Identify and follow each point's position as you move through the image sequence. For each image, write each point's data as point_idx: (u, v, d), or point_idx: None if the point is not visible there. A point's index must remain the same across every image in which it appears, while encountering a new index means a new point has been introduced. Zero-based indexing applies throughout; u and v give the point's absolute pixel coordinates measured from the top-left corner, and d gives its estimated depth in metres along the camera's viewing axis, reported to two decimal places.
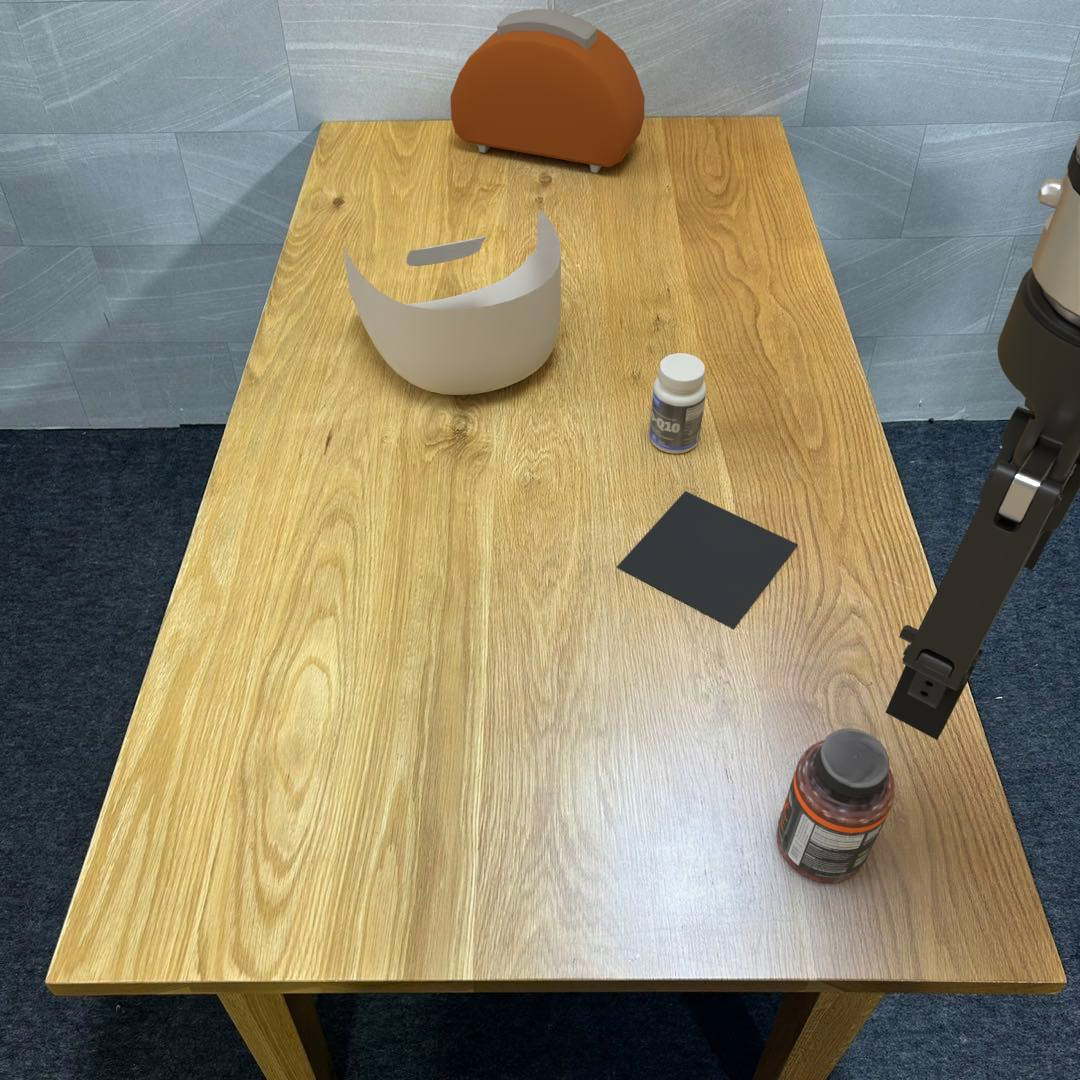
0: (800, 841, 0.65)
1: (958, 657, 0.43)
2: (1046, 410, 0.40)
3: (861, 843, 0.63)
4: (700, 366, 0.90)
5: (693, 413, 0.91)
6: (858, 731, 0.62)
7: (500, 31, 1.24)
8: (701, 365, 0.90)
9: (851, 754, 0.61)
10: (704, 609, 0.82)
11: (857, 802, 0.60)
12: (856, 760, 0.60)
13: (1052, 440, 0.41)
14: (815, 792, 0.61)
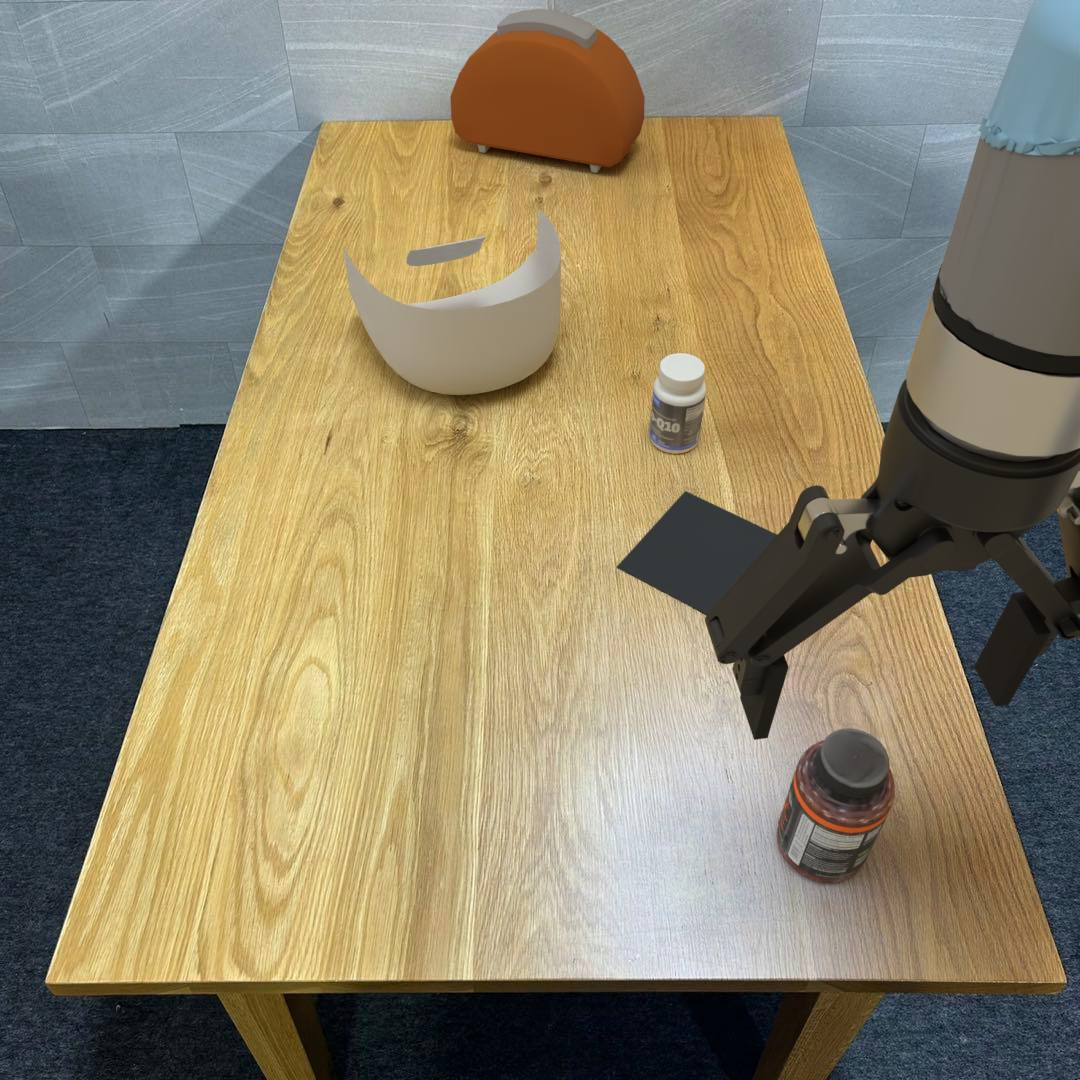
0: (800, 841, 0.65)
1: (728, 633, 0.49)
2: (881, 468, 0.44)
3: (861, 843, 0.63)
4: (700, 366, 0.90)
5: (693, 413, 0.91)
6: (858, 731, 0.62)
7: (500, 31, 1.24)
8: (701, 365, 0.90)
9: (851, 753, 0.61)
10: (704, 609, 0.82)
11: (857, 801, 0.60)
12: (856, 760, 0.60)
13: (880, 498, 0.44)
14: (815, 792, 0.61)
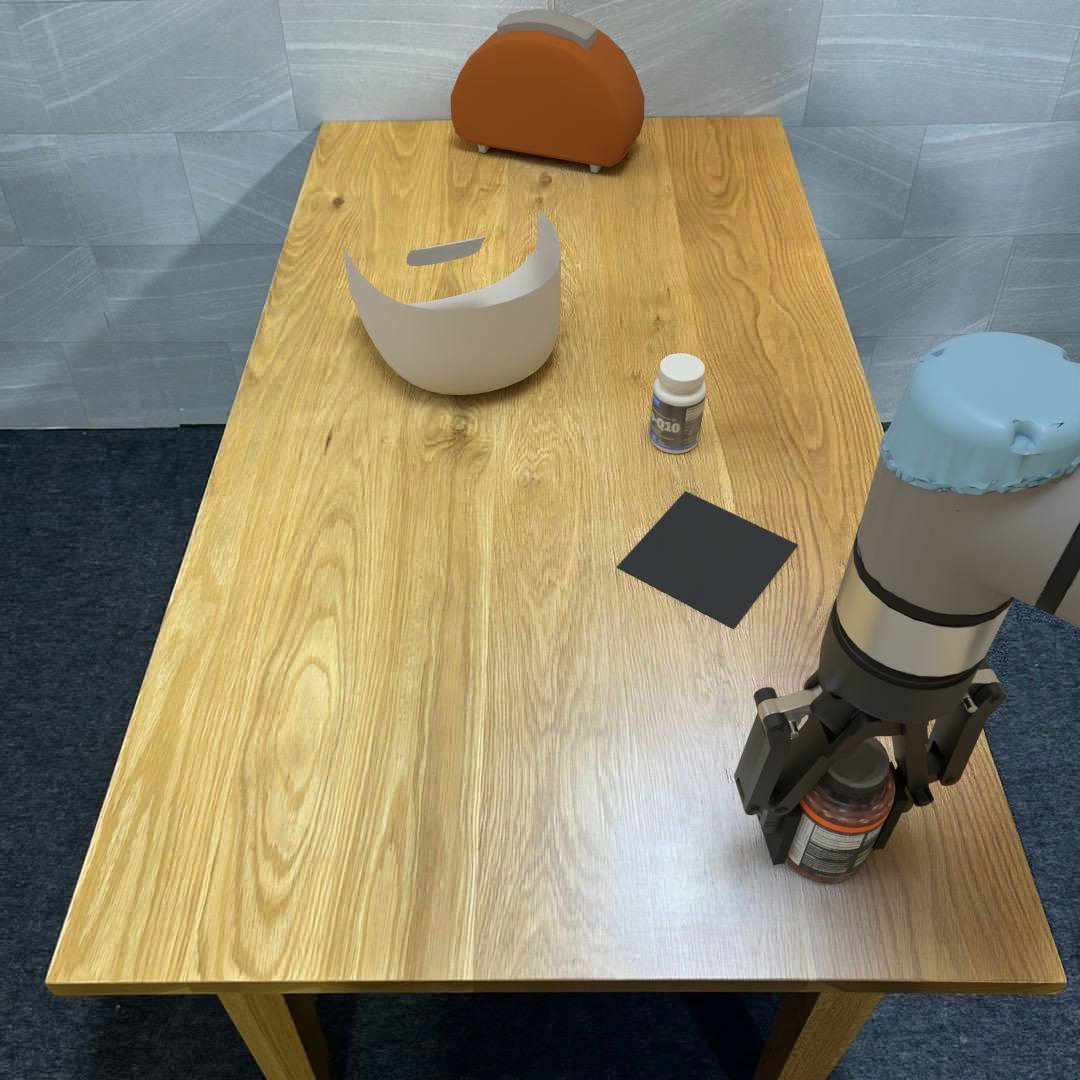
0: (800, 841, 0.65)
1: (746, 794, 0.61)
2: (820, 663, 0.54)
3: (861, 843, 0.63)
4: (700, 366, 0.90)
5: (693, 413, 0.91)
6: None
7: (500, 31, 1.24)
8: (701, 365, 0.90)
9: None
10: (704, 609, 0.82)
11: (858, 801, 0.60)
12: (856, 760, 0.60)
13: (820, 686, 0.54)
14: (815, 792, 0.61)
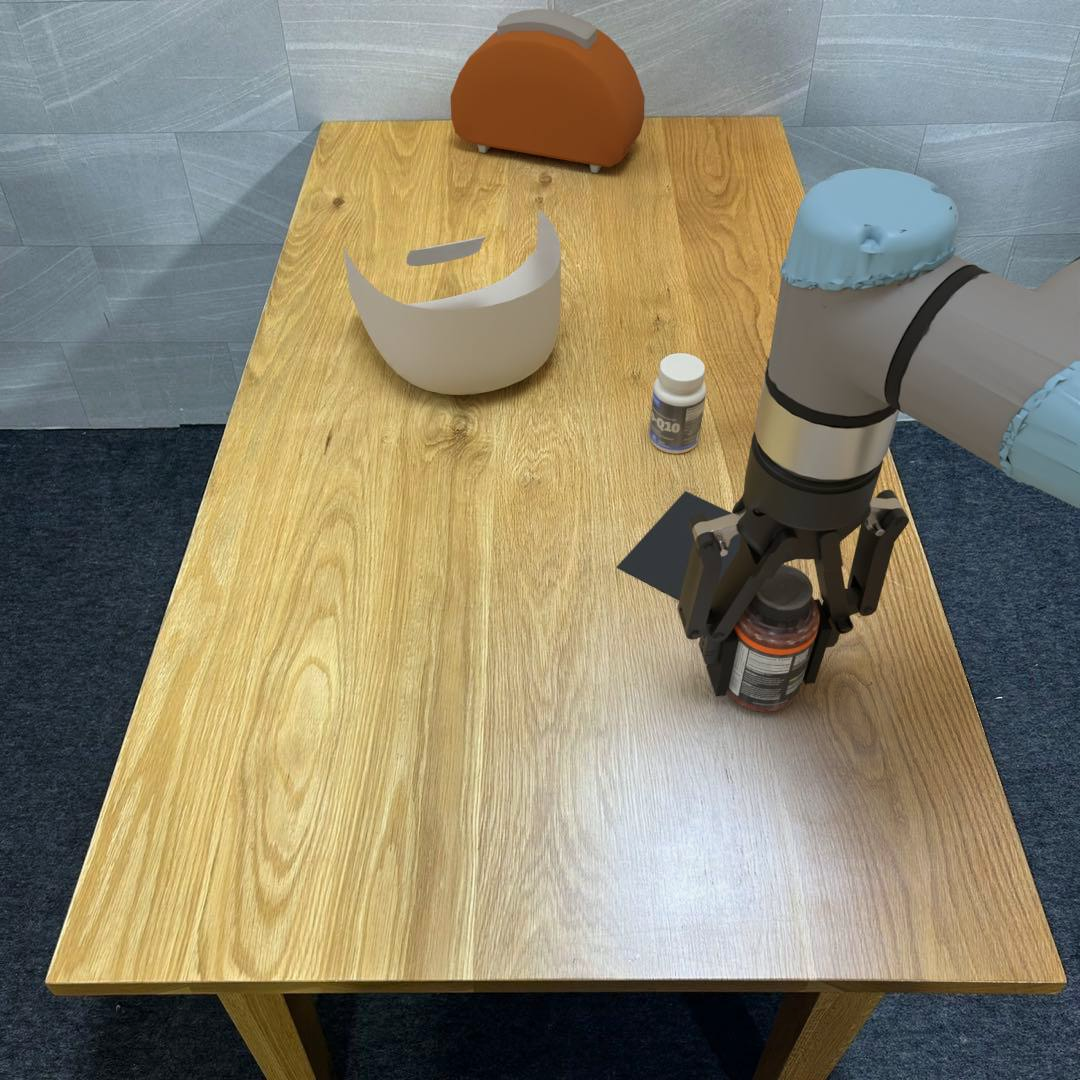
0: (738, 670, 0.73)
1: (686, 619, 0.69)
2: (745, 486, 0.62)
3: (790, 667, 0.71)
4: (700, 366, 0.90)
5: (693, 413, 0.91)
6: (786, 566, 0.70)
7: (500, 31, 1.24)
8: (701, 365, 0.90)
9: (779, 583, 0.69)
10: None
11: (785, 625, 0.69)
12: (783, 588, 0.69)
13: (745, 508, 0.63)
14: (748, 619, 0.70)
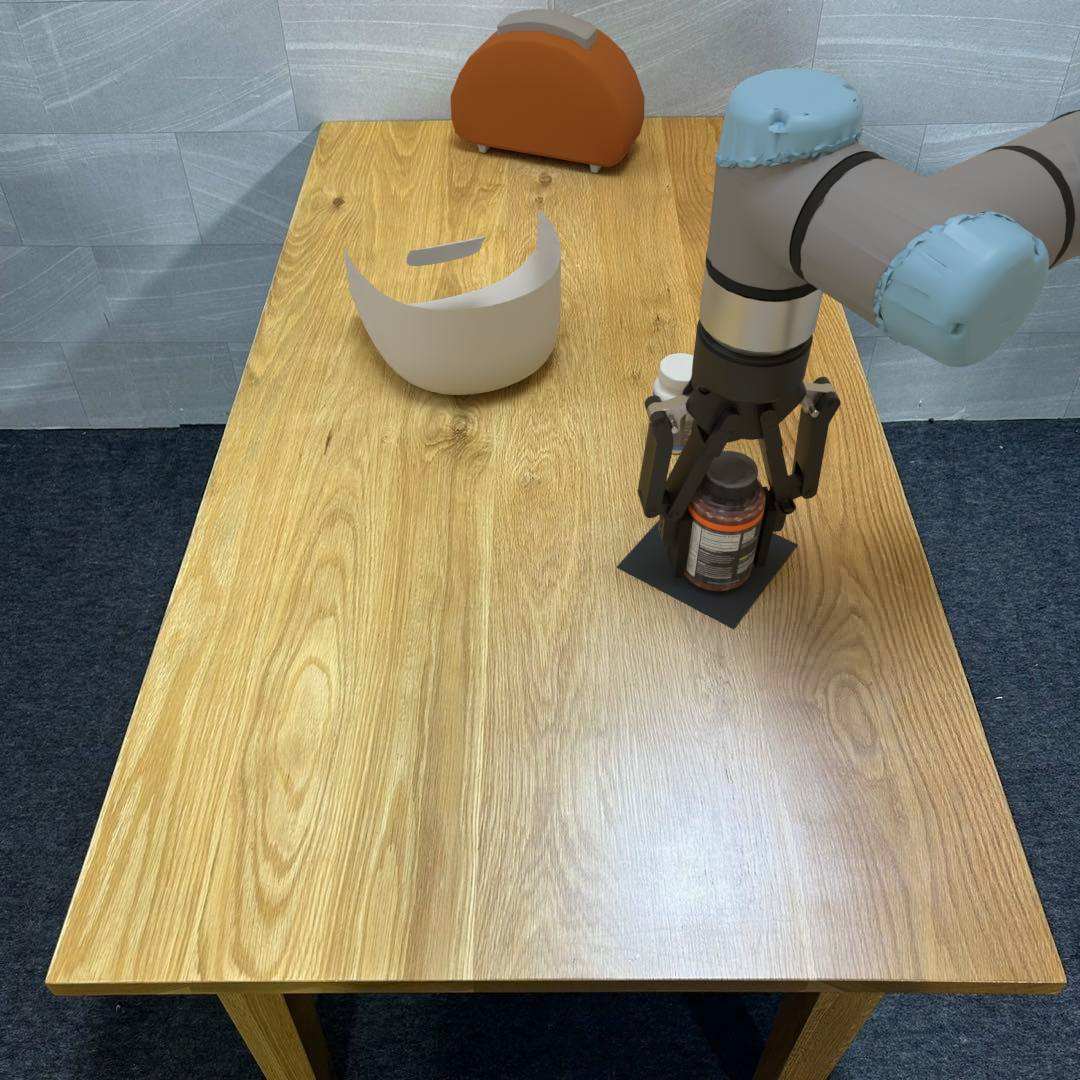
0: (693, 550, 0.81)
1: (644, 498, 0.77)
2: (692, 368, 0.70)
3: (739, 544, 0.79)
4: None
5: None
6: (735, 452, 0.78)
7: (500, 31, 1.24)
8: None
9: (728, 466, 0.77)
10: (704, 609, 0.82)
11: (733, 503, 0.76)
12: (731, 470, 0.76)
13: (693, 388, 0.70)
14: (701, 499, 0.77)
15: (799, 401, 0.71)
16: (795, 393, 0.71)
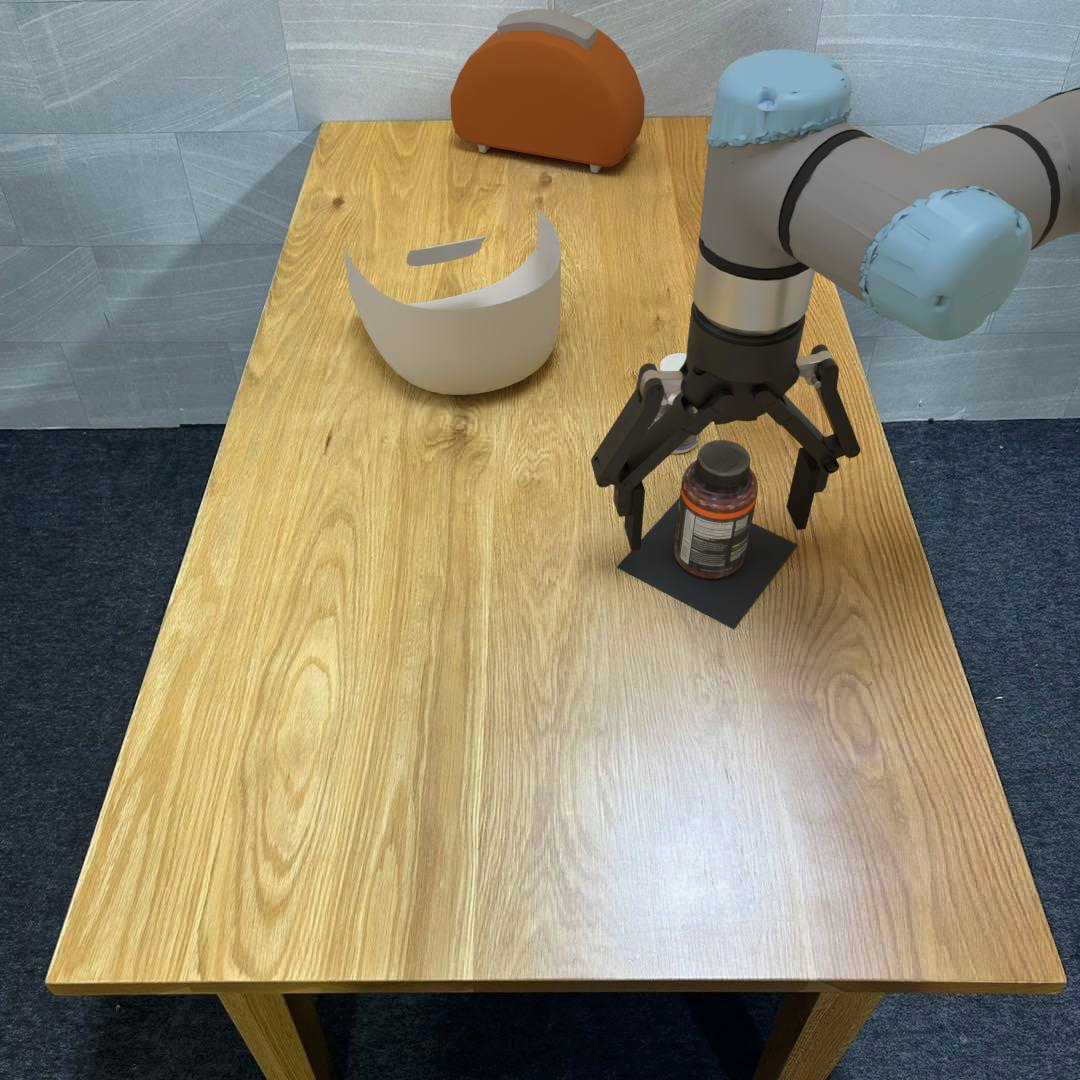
0: (687, 538, 0.82)
1: (602, 465, 0.76)
2: (687, 350, 0.71)
3: (732, 532, 0.80)
4: None
5: None
6: (728, 441, 0.79)
7: (500, 31, 1.24)
8: None
9: (721, 455, 0.78)
10: (704, 609, 0.82)
11: (725, 491, 0.78)
12: (724, 459, 0.78)
13: (687, 370, 0.71)
14: (694, 487, 0.79)
15: (795, 379, 0.72)
16: (786, 374, 0.71)
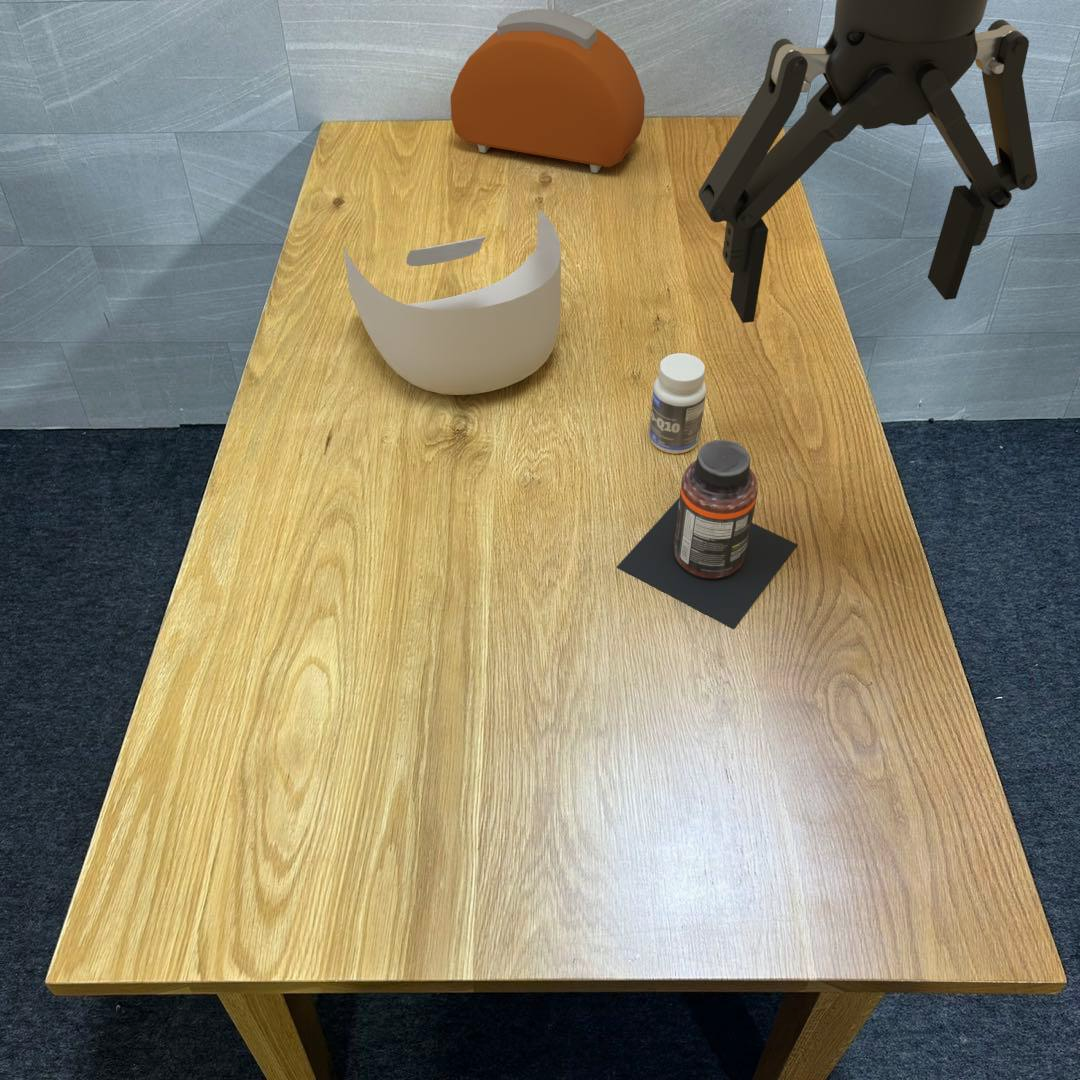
0: (687, 538, 0.82)
1: (717, 190, 0.59)
2: (836, 15, 0.55)
3: (732, 532, 0.80)
4: (700, 366, 0.90)
5: (693, 413, 0.91)
6: (728, 441, 0.79)
7: (500, 31, 1.24)
8: (701, 365, 0.90)
9: (721, 455, 0.78)
10: (704, 609, 0.82)
11: (725, 491, 0.78)
12: (724, 459, 0.78)
13: (836, 43, 0.55)
14: (694, 487, 0.79)
15: (971, 58, 0.56)
16: (962, 49, 0.55)
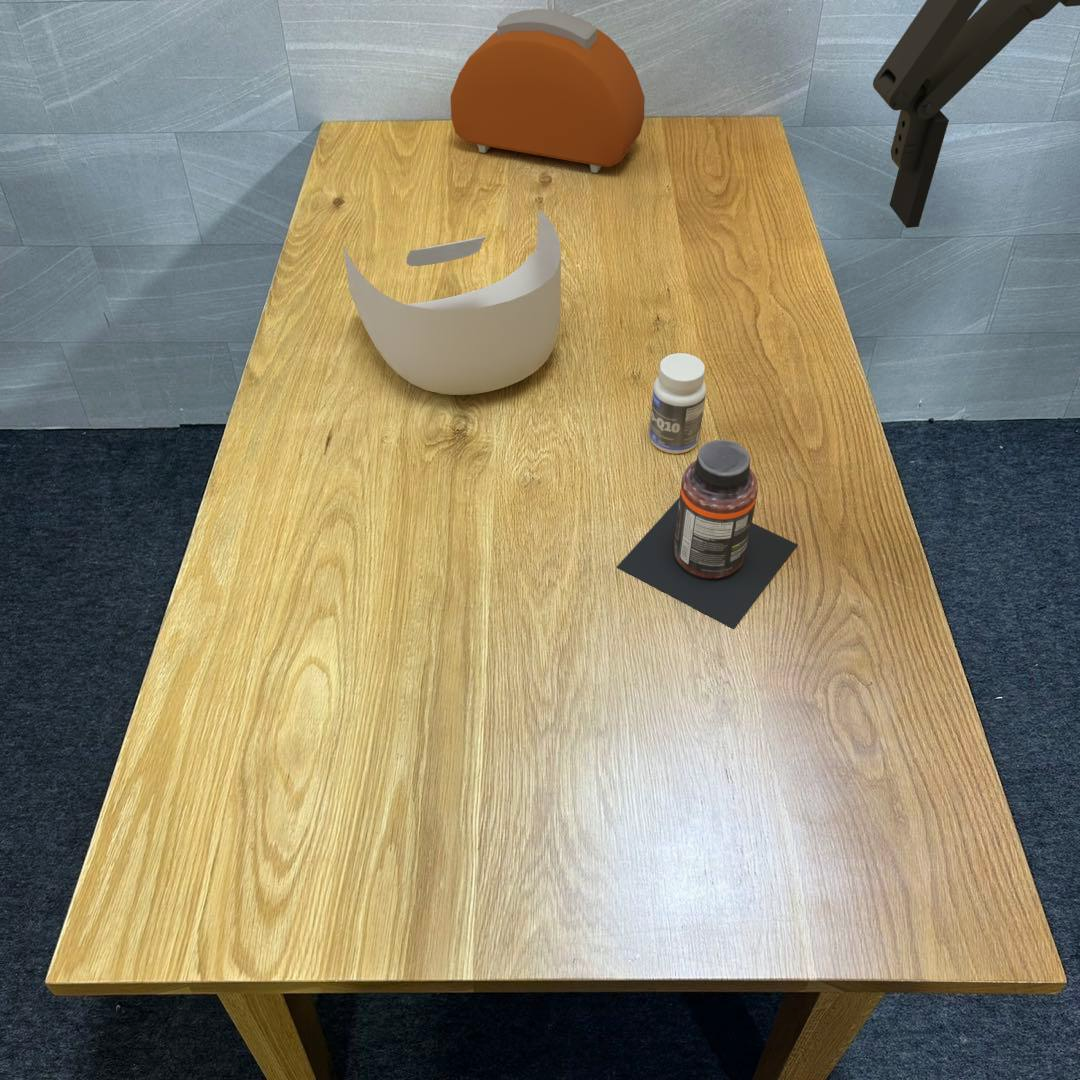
0: (687, 538, 0.82)
1: (900, 73, 0.55)
2: None
3: (732, 532, 0.80)
4: (700, 366, 0.90)
5: (693, 413, 0.91)
6: (728, 441, 0.79)
7: (500, 31, 1.24)
8: (701, 365, 0.90)
9: (721, 455, 0.78)
10: (704, 609, 0.82)
11: (725, 491, 0.78)
12: (724, 459, 0.78)
13: None
14: (694, 487, 0.79)
15: None
16: None
